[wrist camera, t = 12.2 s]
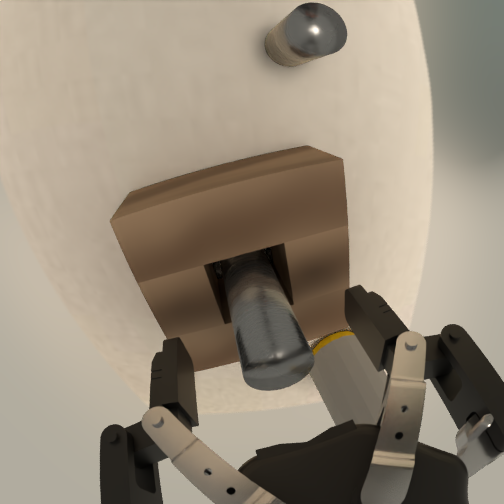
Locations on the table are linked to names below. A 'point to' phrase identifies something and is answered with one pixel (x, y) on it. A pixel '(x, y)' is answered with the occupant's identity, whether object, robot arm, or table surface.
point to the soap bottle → (347, 379)
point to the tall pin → (264, 324)
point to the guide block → (239, 244)
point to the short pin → (306, 35)
